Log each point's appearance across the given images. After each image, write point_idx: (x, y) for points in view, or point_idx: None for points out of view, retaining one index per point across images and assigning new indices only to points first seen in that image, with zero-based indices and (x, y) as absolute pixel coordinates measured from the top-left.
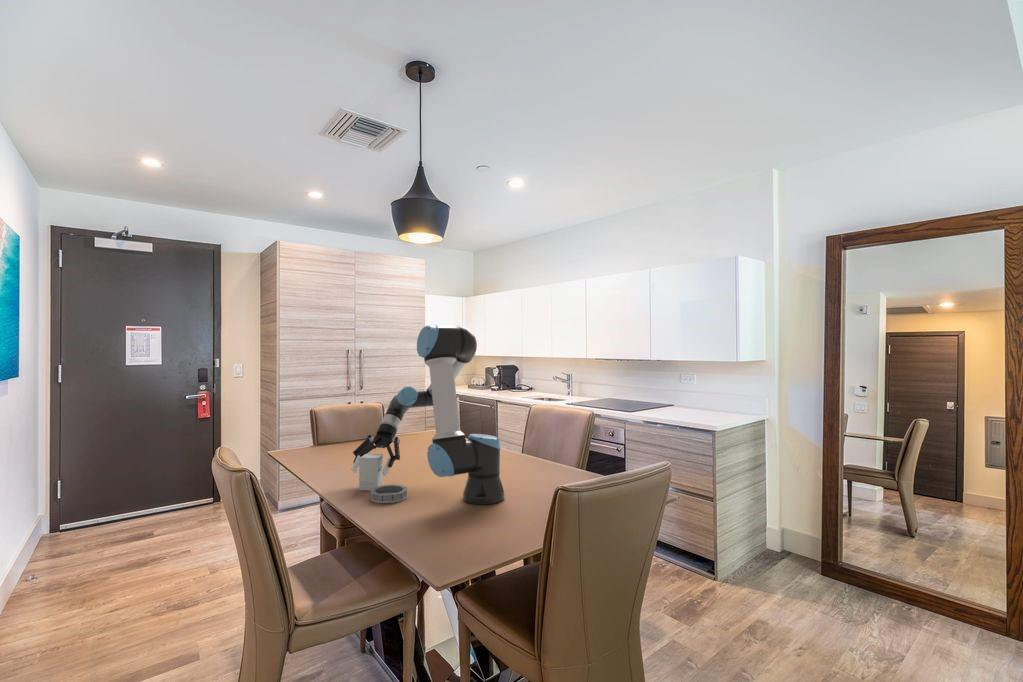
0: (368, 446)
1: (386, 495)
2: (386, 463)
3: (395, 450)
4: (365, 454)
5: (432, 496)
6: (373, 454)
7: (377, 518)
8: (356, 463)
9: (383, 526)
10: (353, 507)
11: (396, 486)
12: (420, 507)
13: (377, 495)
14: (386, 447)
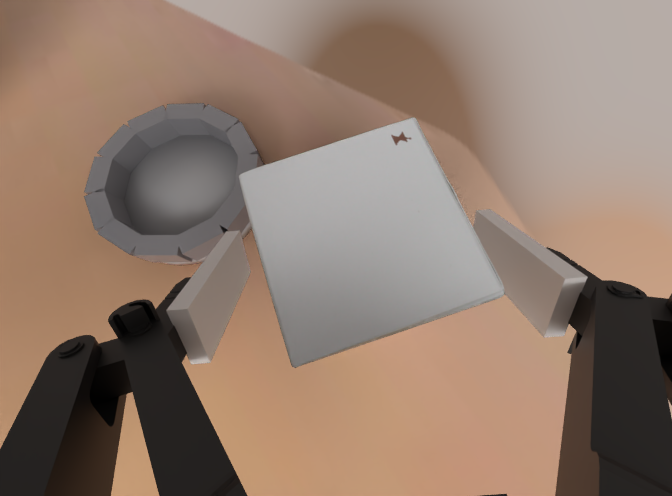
0: (624, 415)
1: (149, 111)
2: (207, 268)
3: (54, 414)
4: (482, 268)
5: (9, 276)
6: (381, 291)
7: (141, 34)
8: (505, 242)
9: (99, 3)
10: (267, 73)
11: (162, 235)
12: (32, 149)
13: (190, 105)
14: (223, 450)
